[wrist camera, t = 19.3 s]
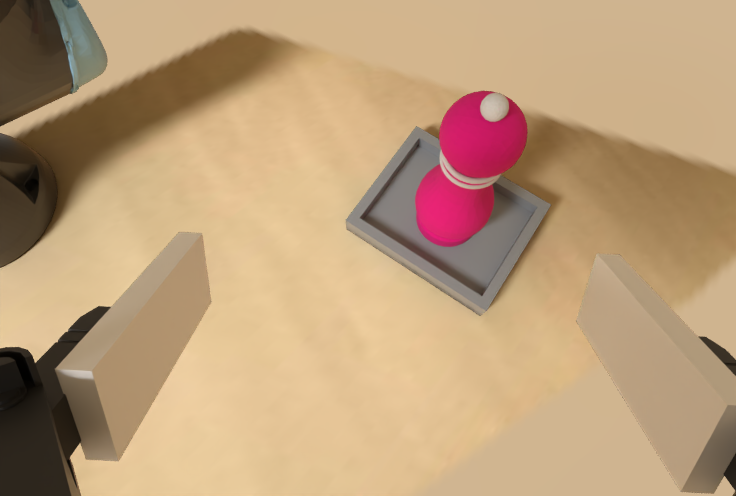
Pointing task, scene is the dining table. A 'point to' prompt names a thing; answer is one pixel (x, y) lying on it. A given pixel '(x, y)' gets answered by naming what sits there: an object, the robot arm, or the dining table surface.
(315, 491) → the dining table surface
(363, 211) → the tray
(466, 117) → the pepper mill
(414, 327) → the dining table surface
